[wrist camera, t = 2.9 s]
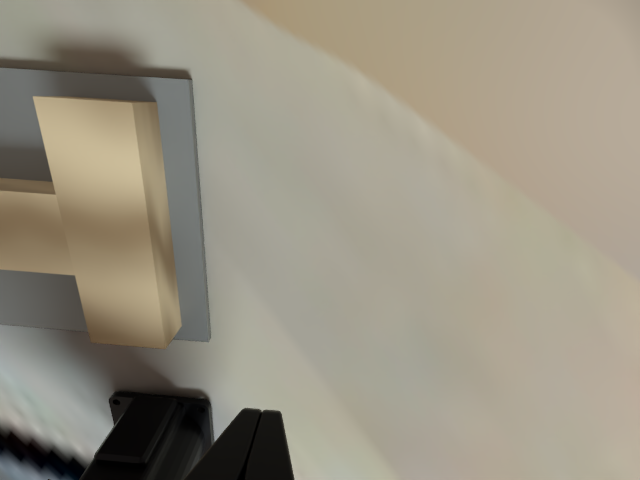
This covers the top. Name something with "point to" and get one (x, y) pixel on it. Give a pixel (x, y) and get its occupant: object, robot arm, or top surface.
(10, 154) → the grey flat panel
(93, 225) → the oak T block
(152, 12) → the top surface
